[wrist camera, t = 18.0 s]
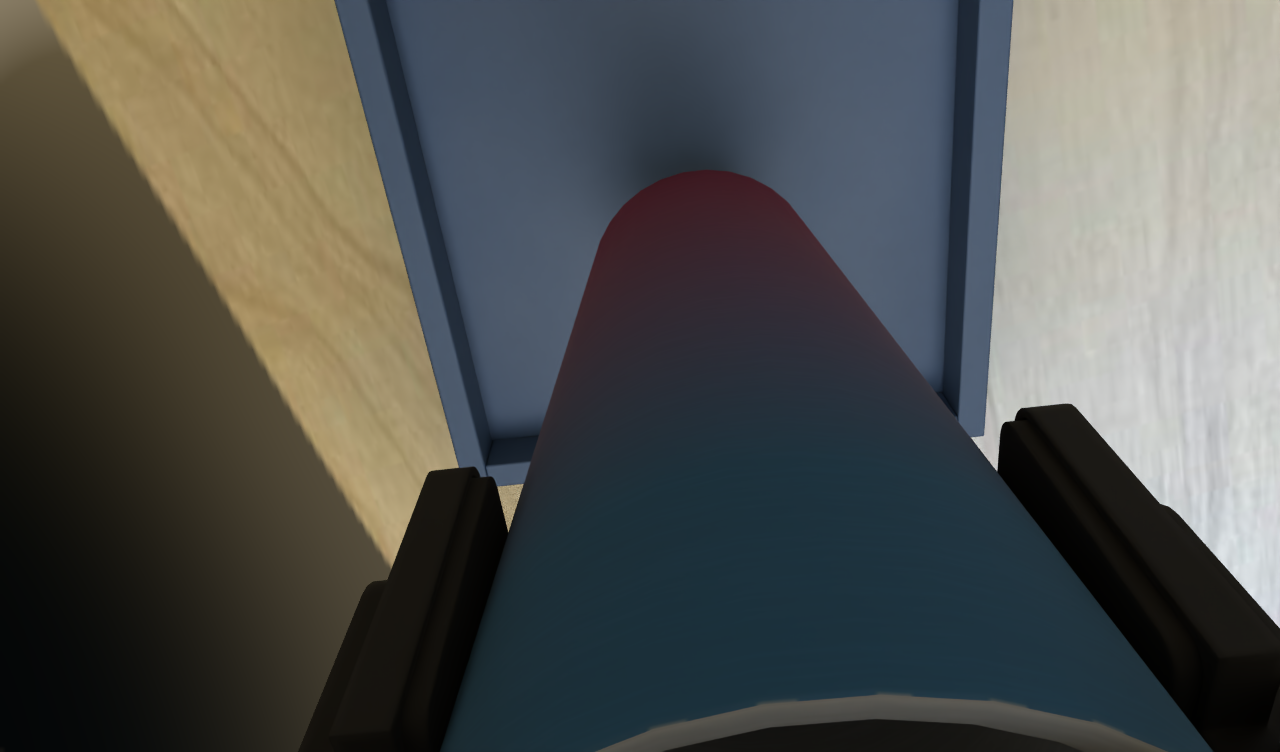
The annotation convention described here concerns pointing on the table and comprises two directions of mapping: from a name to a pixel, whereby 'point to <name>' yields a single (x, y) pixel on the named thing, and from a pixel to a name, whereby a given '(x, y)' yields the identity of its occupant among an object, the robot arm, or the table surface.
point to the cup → (775, 530)
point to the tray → (677, 167)
